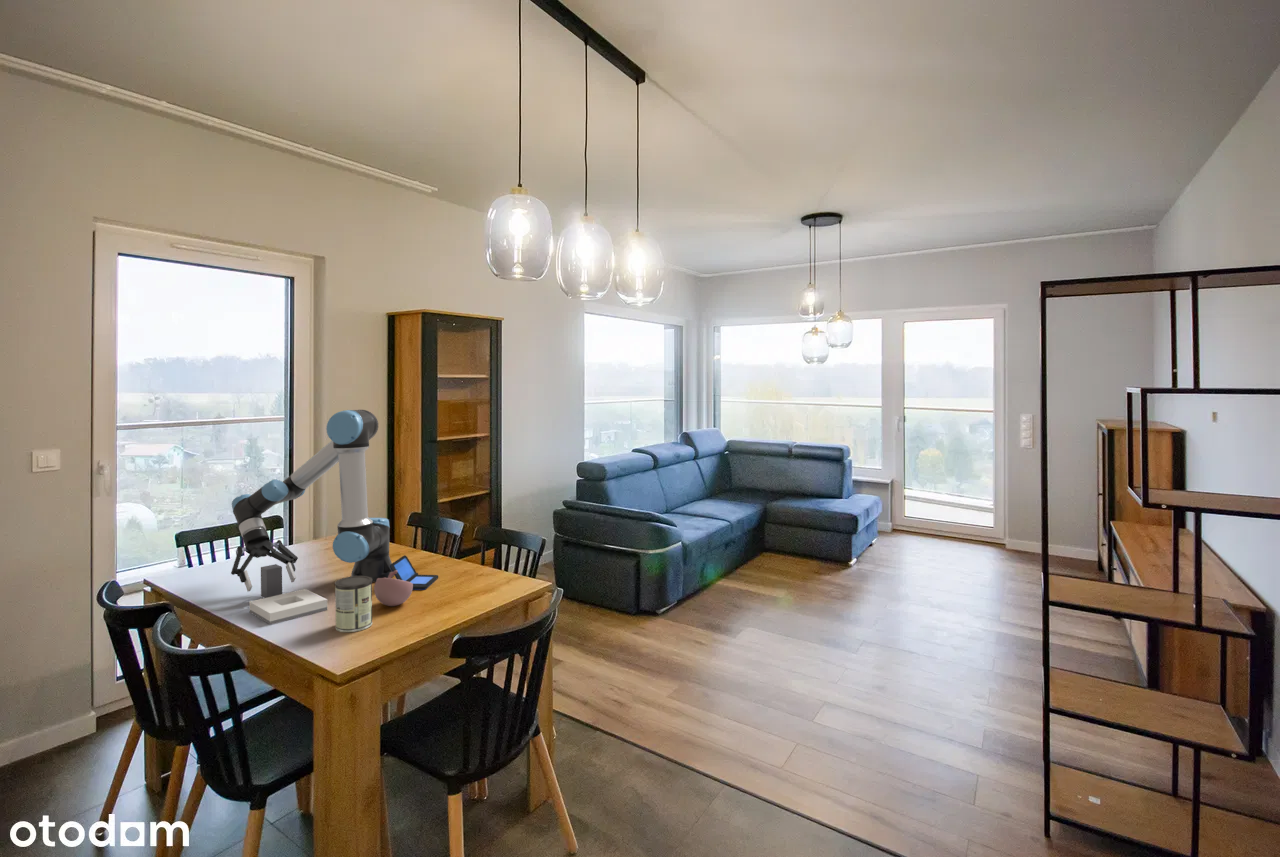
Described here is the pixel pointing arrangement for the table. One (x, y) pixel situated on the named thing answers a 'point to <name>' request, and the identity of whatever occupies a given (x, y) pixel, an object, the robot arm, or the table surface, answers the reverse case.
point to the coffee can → (353, 603)
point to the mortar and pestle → (392, 590)
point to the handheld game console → (411, 574)
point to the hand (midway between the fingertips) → (272, 584)
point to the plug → (271, 580)
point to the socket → (287, 606)
